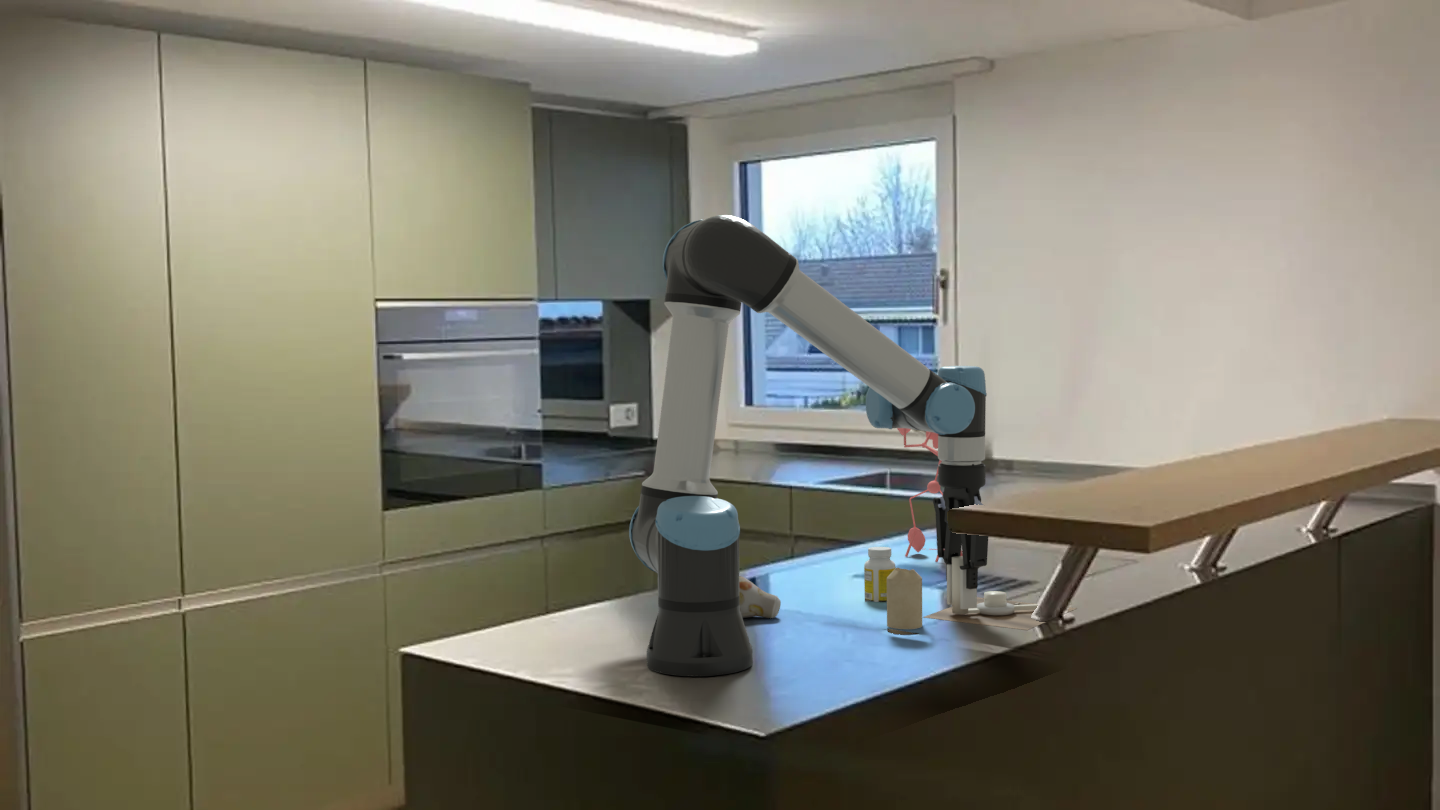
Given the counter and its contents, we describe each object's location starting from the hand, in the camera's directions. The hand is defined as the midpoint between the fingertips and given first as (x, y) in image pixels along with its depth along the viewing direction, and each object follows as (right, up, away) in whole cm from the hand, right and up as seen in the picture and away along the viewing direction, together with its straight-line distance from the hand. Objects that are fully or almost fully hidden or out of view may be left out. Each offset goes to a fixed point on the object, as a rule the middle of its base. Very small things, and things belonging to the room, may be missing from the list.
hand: (961, 605), depth 226 cm
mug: (-34, -3, +6) cm, 35 cm away
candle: (-10, -3, -7) cm, 13 cm away
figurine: (+8, +1, +65) cm, 66 cm away
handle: (+6, -1, +1) cm, 6 cm away
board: (+7, -2, +2) cm, 7 cm away
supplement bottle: (-11, -2, +15) cm, 19 cm away
